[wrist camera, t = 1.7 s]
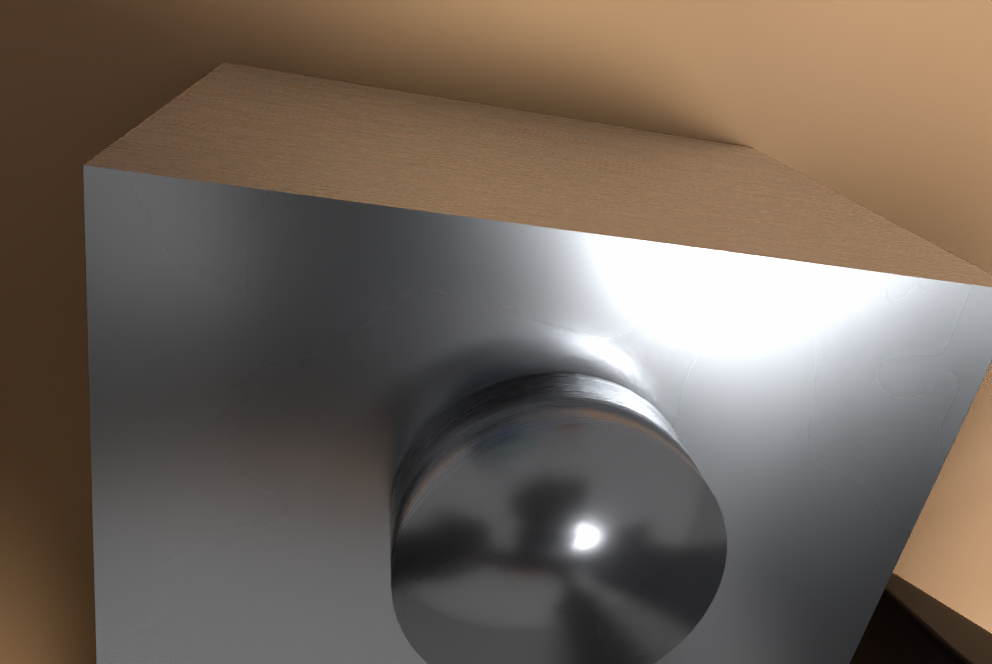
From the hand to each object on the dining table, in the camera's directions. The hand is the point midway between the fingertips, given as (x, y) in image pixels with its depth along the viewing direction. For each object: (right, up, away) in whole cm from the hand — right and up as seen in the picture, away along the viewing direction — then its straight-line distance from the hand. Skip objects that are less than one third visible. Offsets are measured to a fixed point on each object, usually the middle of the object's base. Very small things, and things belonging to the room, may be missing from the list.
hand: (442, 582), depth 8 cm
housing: (0, +1, +1) cm, 2 cm away
